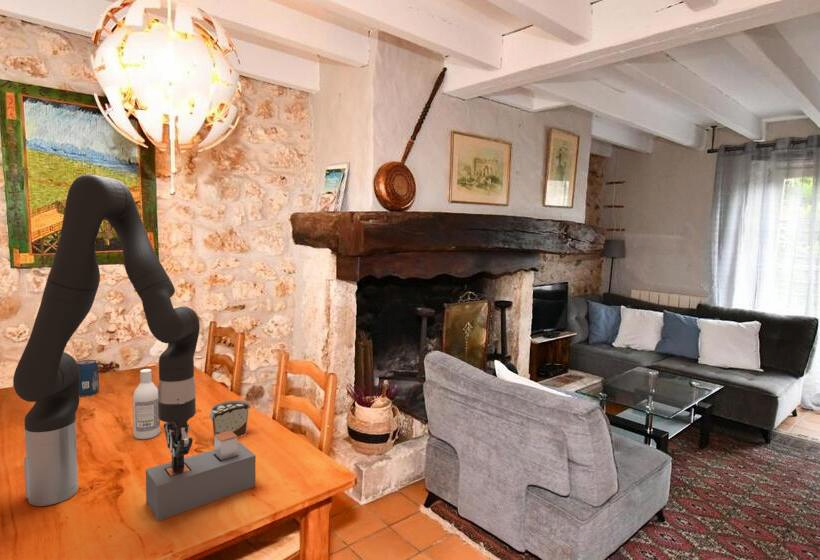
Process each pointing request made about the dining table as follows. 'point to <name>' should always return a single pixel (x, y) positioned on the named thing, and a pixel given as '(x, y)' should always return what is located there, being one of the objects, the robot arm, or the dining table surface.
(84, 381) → the soda can
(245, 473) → the guide block
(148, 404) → the bath foam
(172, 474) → the peg near
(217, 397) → the dining table surface
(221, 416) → the half cake
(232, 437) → the peg far
